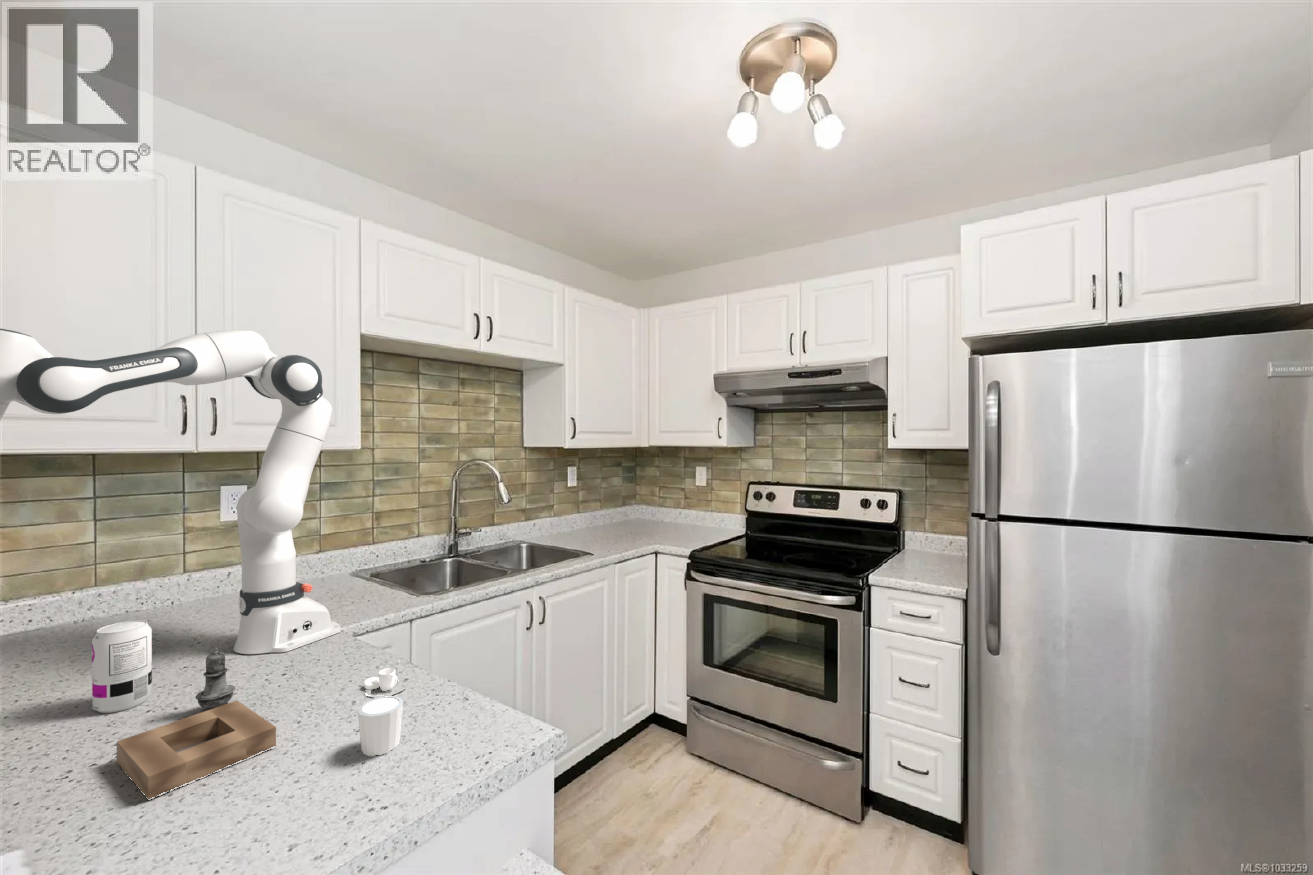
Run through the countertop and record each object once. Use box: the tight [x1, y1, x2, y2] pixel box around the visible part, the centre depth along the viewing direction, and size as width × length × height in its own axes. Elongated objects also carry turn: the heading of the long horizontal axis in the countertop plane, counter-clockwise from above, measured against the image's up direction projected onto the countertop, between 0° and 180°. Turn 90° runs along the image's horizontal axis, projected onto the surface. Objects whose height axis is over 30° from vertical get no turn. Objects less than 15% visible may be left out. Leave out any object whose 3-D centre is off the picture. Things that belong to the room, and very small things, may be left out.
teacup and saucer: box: [362, 667, 400, 697], centre depth 112 cm, size 9×8×4 cm
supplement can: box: [91, 619, 153, 714], centre depth 106 cm, size 8×8×15 cm
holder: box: [116, 700, 277, 799], centre depth 89 cm, size 16×16×4 cm
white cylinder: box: [357, 695, 404, 755], centre depth 92 cm, size 7×7×7 cm
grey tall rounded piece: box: [194, 647, 236, 714], centre depth 103 cm, size 6×6×12 cm
